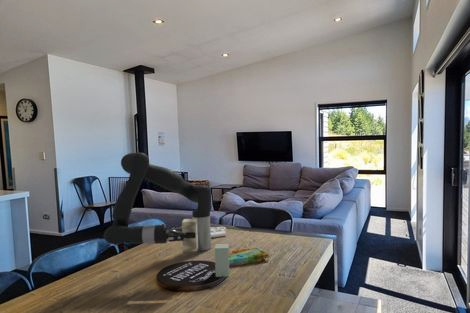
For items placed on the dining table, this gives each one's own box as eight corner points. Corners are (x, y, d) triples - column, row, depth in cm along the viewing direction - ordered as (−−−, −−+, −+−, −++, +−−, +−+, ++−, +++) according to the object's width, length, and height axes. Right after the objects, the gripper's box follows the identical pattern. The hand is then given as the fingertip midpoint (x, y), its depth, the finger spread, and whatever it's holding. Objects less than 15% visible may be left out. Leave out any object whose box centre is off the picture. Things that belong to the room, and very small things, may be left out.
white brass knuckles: (201, 240, 194) (194, 234, 208) (231, 236, 201) (222, 230, 215) (201, 235, 194) (194, 229, 208) (230, 230, 201) (222, 225, 214)
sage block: (215, 277, 140) (214, 248, 139) (216, 272, 145) (215, 244, 144) (229, 276, 140) (228, 248, 139) (229, 271, 145) (228, 243, 144)
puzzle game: (219, 251, 161) (258, 245, 167) (219, 261, 161) (258, 254, 167) (227, 259, 149) (268, 252, 156) (227, 269, 150) (268, 262, 156)
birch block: (182, 251, 138) (181, 222, 137) (184, 247, 143) (183, 219, 142) (196, 251, 138) (195, 221, 137) (198, 246, 143) (197, 218, 142)
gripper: (150, 229, 133) (193, 228, 133) (158, 221, 147) (197, 219, 147) (151, 248, 133) (194, 247, 133) (159, 238, 147) (198, 237, 147)
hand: (196, 233), depth 140 cm, fingers closed on birch block, 5 cm apart
